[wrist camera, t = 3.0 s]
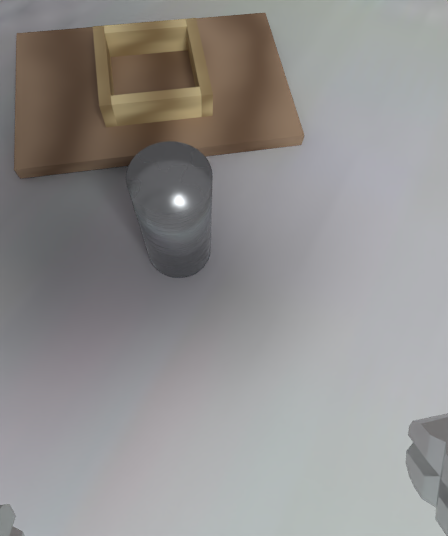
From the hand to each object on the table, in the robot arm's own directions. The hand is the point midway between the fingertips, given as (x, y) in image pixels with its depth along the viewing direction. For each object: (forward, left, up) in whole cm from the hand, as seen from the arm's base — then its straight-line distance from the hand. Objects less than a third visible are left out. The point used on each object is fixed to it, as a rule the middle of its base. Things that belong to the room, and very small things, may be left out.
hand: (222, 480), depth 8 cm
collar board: (0, +26, -15) cm, 30 cm away
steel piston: (0, +12, -15) cm, 19 cm away
